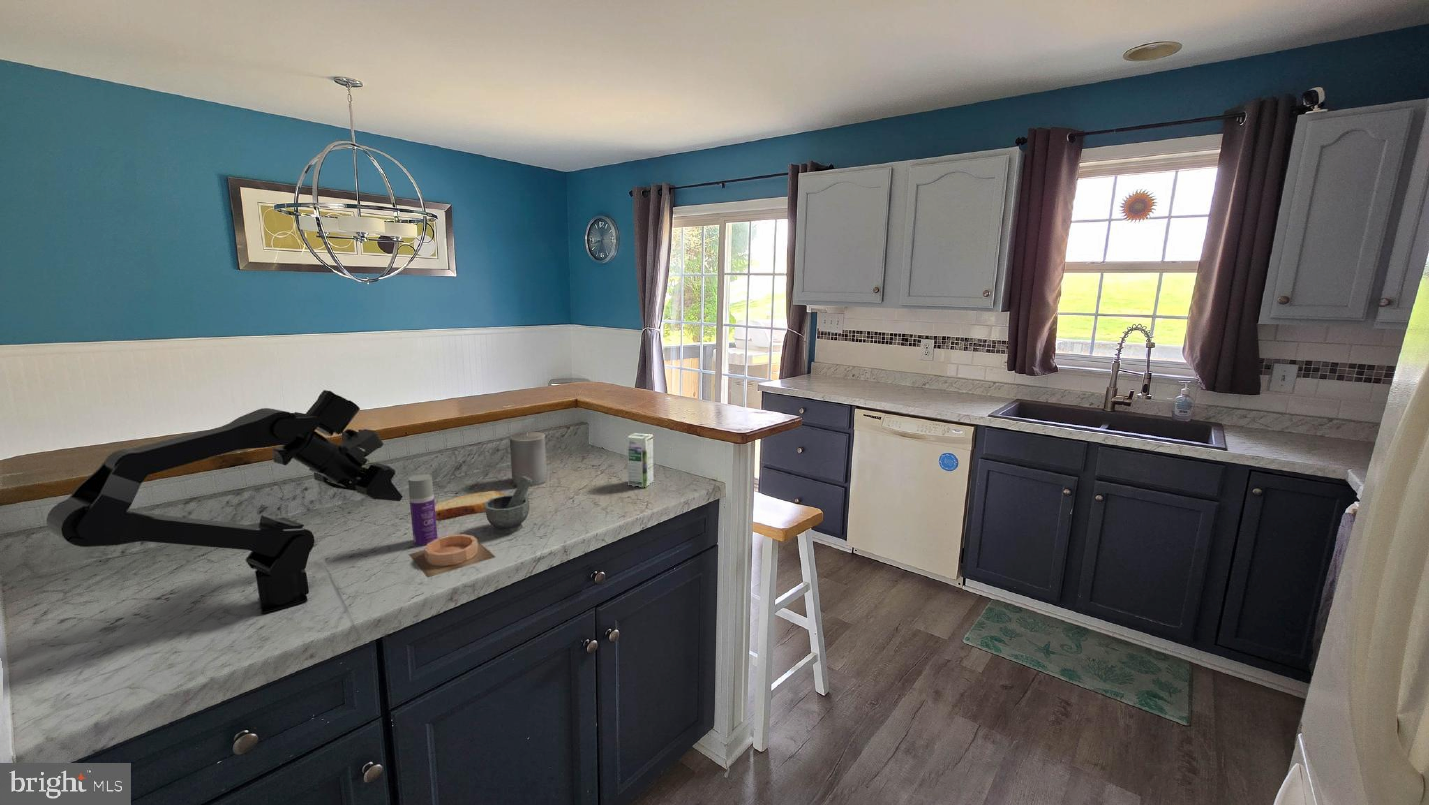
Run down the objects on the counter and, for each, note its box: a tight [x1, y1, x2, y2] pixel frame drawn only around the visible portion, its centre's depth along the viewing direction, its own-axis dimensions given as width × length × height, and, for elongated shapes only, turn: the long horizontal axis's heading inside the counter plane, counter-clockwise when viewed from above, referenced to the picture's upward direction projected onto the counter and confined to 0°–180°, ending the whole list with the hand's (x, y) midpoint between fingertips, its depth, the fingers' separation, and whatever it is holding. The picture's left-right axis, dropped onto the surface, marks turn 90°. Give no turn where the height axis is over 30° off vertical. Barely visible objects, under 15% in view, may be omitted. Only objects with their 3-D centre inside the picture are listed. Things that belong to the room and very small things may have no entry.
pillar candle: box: [509, 431, 548, 488], centre depth 165 cm, size 10×10×15 cm
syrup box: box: [626, 432, 654, 489], centre depth 163 cm, size 6×6×14 cm
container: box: [407, 473, 439, 547], centre depth 123 cm, size 5×5×15 cm
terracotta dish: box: [423, 533, 479, 566], centre depth 118 cm, size 10×10×2 cm
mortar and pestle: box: [484, 476, 532, 535], centre depth 131 cm, size 11×9×12 cm
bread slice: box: [435, 490, 506, 521], centre depth 144 cm, size 18×18×4 cm
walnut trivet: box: [408, 540, 496, 578], centre depth 118 cm, size 13×13×1 cm
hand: (386, 495), depth 116 cm, fingers open, 9 cm apart
